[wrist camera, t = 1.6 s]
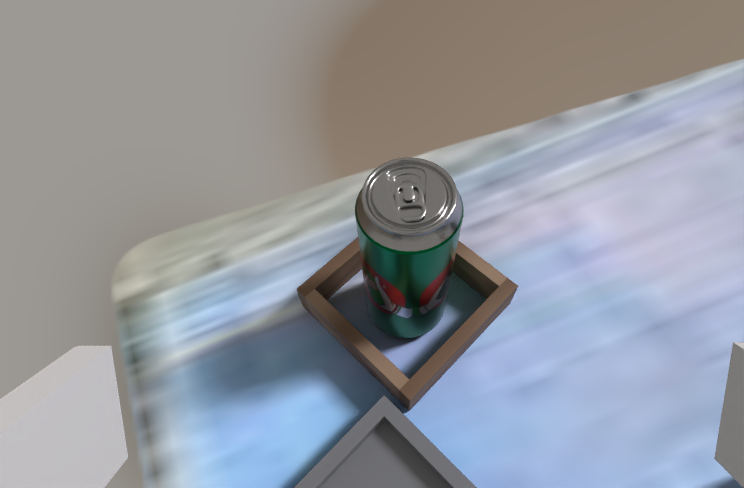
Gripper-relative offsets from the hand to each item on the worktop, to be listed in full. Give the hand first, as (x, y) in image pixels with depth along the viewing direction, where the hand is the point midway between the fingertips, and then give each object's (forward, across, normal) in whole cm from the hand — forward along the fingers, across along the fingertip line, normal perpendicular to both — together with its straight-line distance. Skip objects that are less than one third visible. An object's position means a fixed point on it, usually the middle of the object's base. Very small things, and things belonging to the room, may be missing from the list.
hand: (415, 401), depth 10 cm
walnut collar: (+21, +1, -6) cm, 22 cm away
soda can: (+21, +1, -6) cm, 22 cm away
